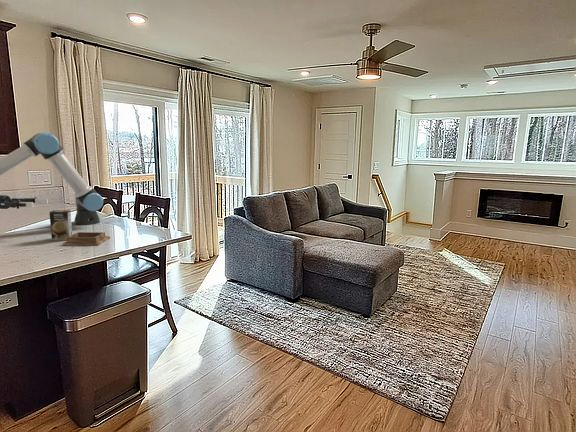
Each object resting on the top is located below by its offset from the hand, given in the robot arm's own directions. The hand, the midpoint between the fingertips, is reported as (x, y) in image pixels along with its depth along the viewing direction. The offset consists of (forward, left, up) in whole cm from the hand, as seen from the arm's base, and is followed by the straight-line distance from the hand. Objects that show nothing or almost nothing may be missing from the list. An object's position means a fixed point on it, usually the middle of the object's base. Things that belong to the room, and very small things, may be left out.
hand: (40, 202), depth 204 cm
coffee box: (0, +10, -21) cm, 23 cm away
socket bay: (+6, +26, -20) cm, 33 cm away
